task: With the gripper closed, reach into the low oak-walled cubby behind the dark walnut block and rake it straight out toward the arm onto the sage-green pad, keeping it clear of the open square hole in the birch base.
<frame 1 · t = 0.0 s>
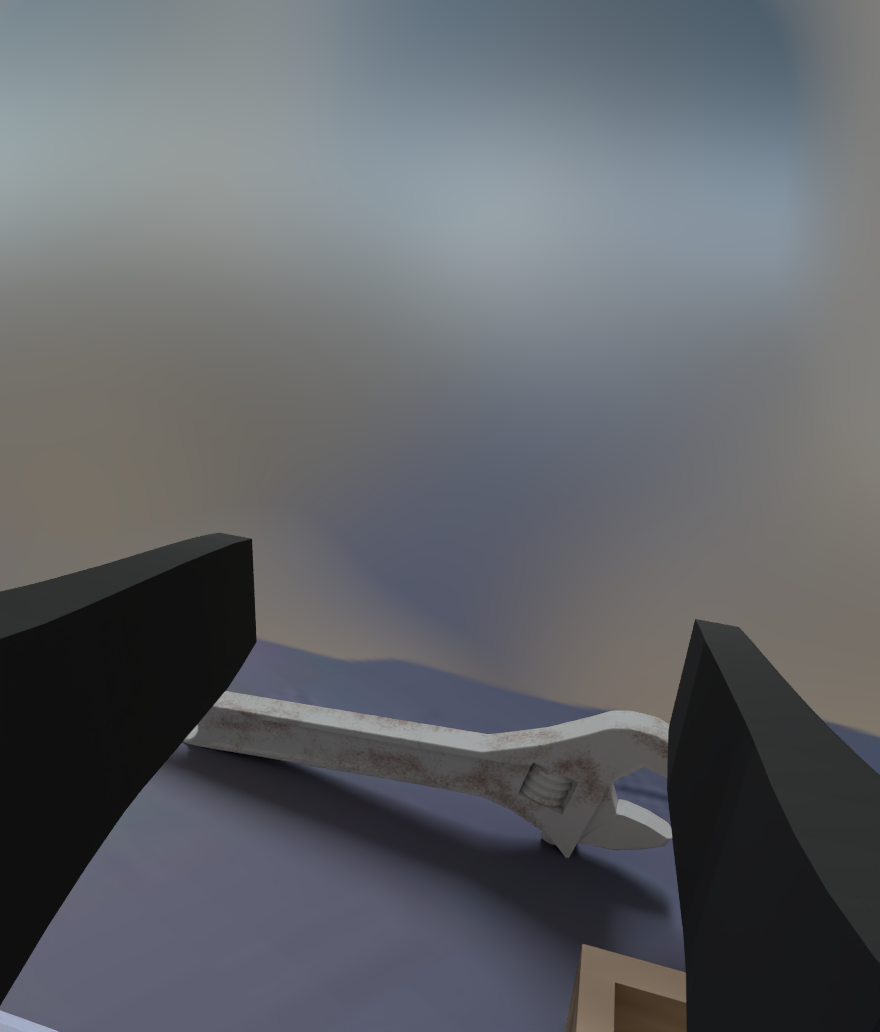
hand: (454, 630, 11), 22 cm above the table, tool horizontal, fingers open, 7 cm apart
wrench: (396, 800, 39), on the table
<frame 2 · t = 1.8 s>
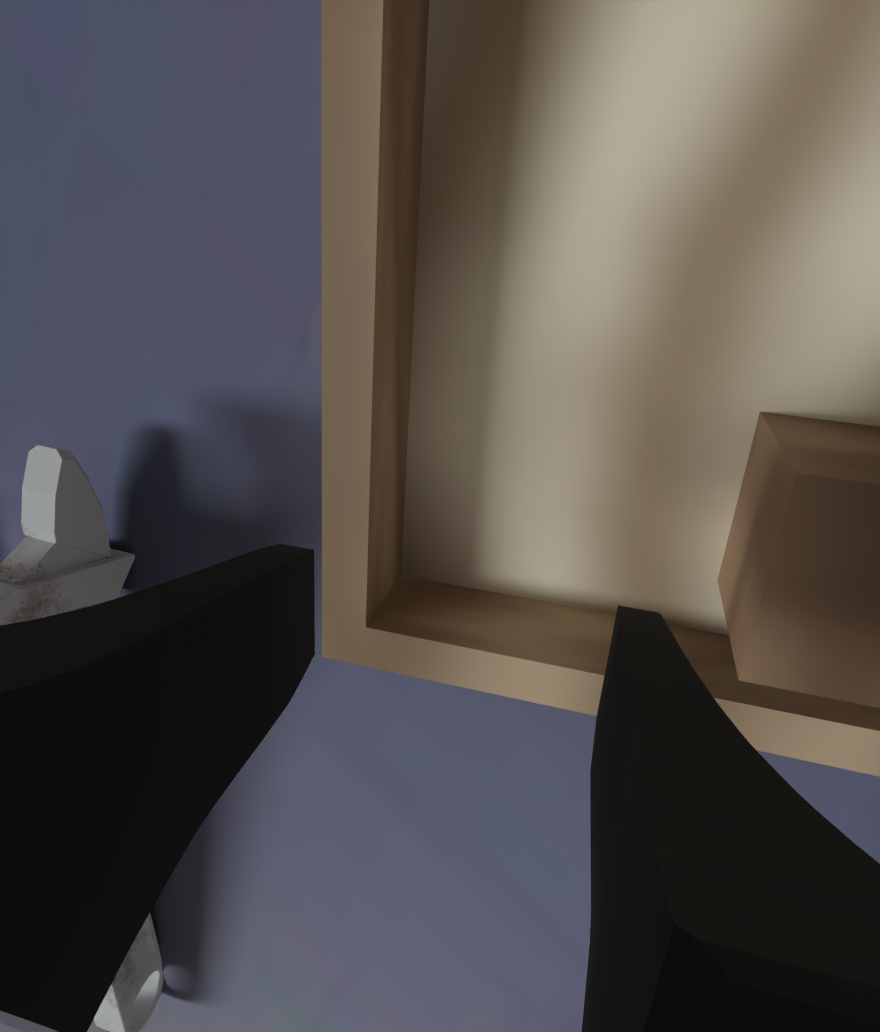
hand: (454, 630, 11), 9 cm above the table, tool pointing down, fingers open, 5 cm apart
walnut block: (835, 514, 17), point 1 cm above the table, touching cubby base
cubby base: (872, 338, 17), on the table
wrench: (136, 751, 29), on the table
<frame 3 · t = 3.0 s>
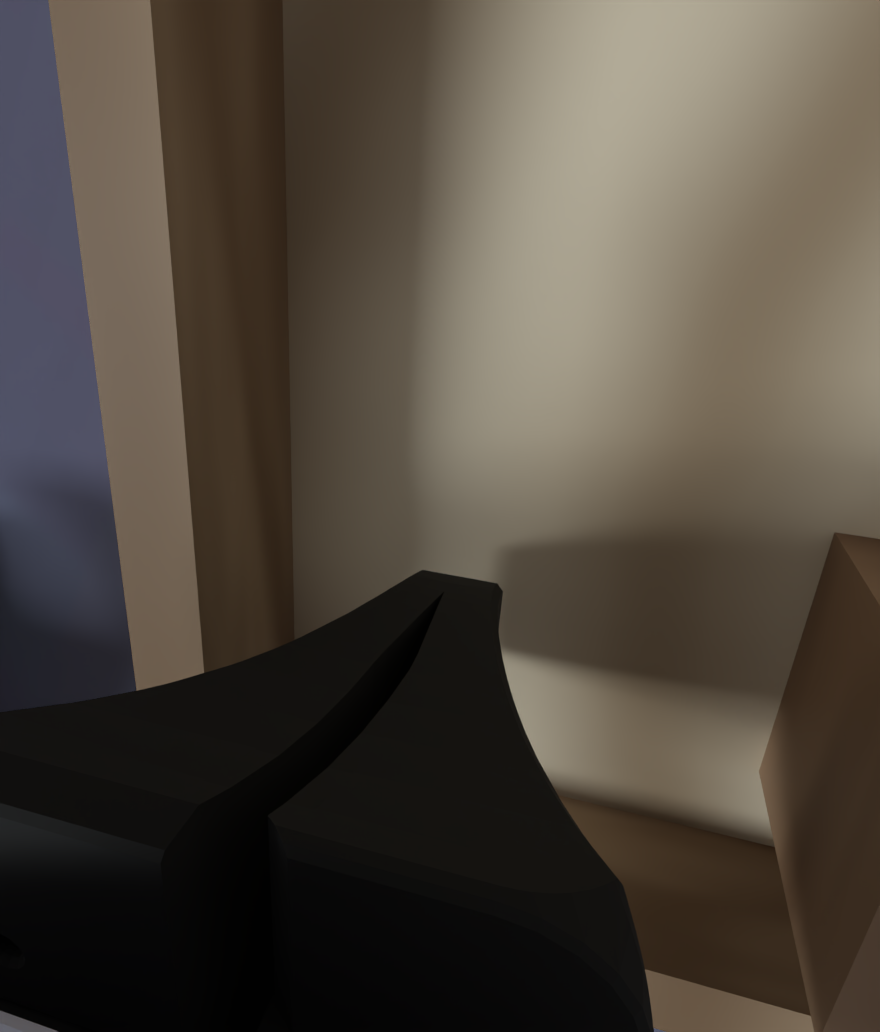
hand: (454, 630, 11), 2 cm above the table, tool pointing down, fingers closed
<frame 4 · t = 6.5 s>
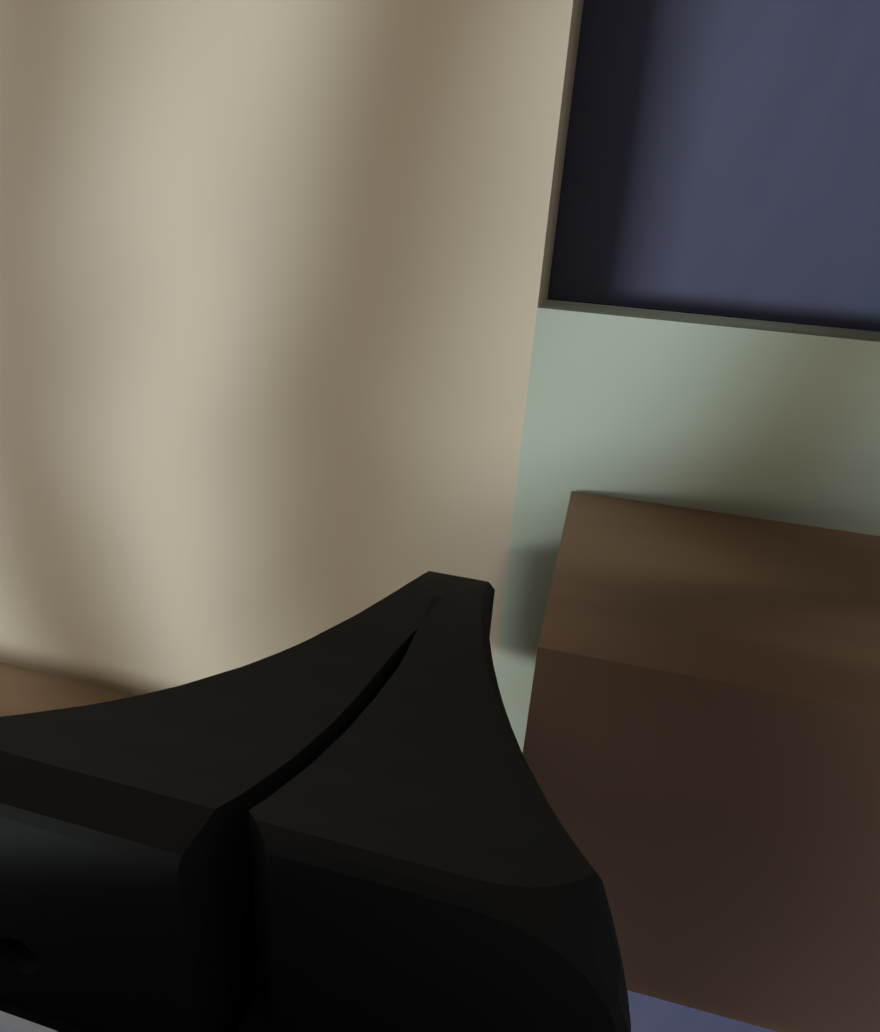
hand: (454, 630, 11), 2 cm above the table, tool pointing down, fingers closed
walnut block: (691, 640, 12), point 1 cm above the table, touching cubby base, gripper
cubby base: (261, 330, 13), on the table
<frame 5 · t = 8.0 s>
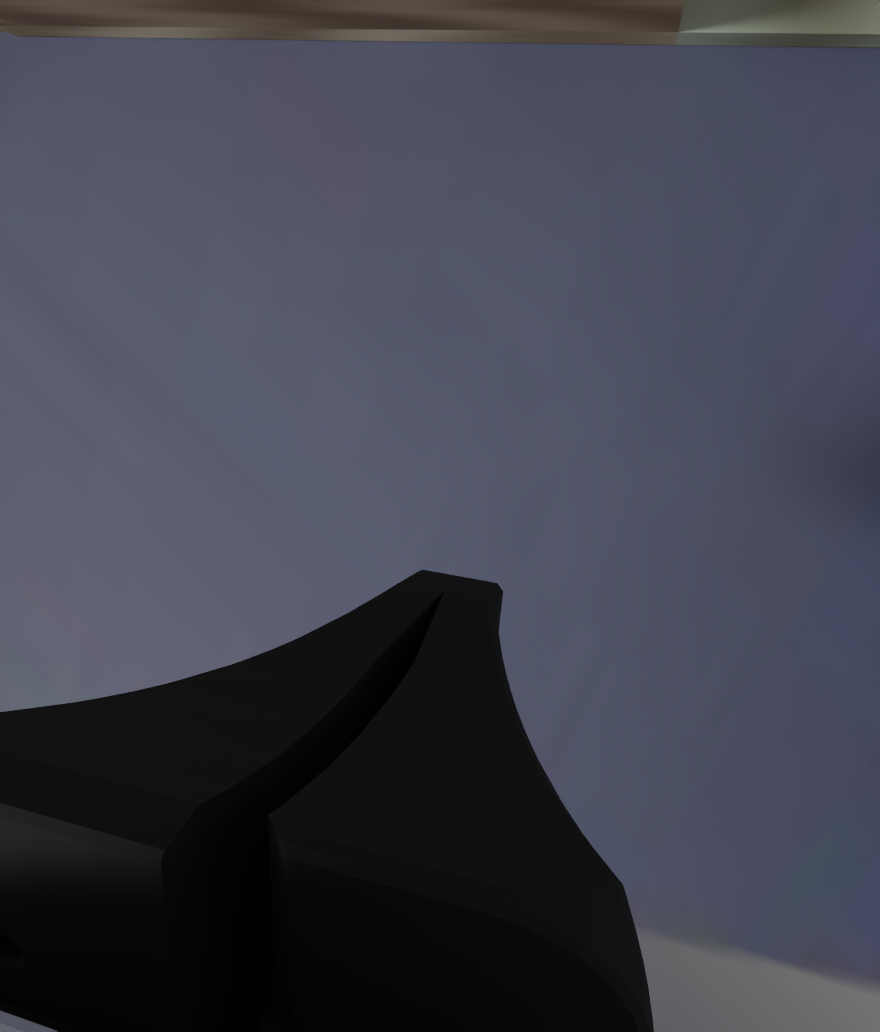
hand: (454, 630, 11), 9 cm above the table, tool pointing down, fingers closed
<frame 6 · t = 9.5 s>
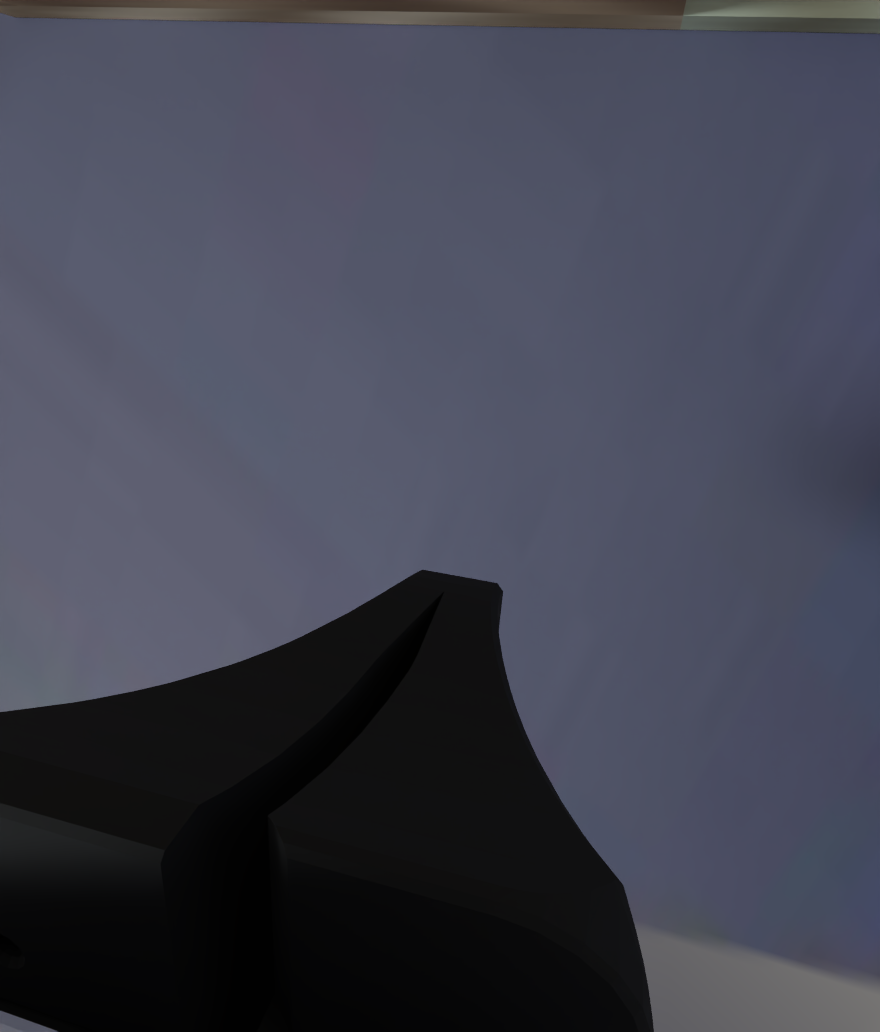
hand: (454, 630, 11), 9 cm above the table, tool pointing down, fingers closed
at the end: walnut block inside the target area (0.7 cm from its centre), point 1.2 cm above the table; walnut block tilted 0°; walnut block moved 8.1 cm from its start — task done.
